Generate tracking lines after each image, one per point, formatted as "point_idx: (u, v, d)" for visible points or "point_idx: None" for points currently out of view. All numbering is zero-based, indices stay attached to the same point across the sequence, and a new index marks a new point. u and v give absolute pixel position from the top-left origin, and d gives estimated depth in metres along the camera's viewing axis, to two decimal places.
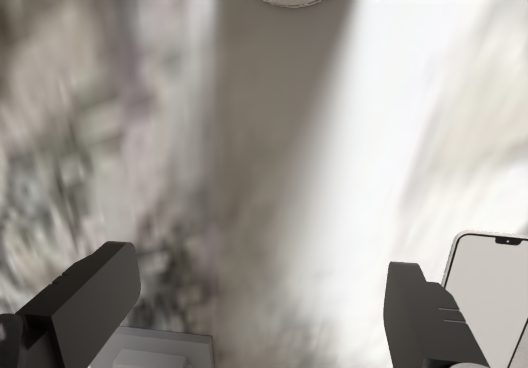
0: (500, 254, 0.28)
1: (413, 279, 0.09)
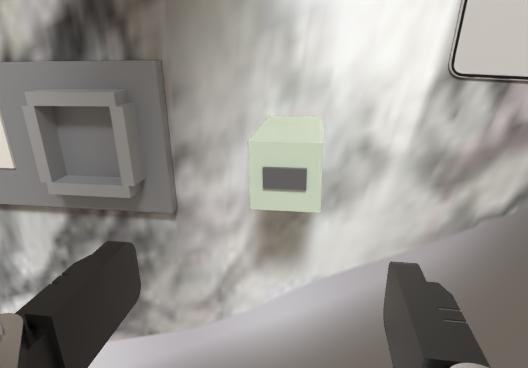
0: None
1: (413, 279, 0.09)
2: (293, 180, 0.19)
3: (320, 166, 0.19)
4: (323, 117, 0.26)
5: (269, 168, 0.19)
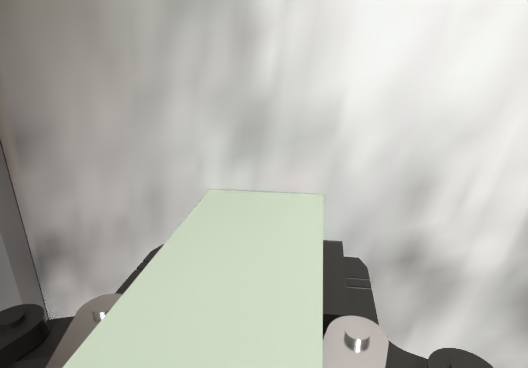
0: None
1: (332, 253, 0.10)
2: None
3: None
4: None
5: None
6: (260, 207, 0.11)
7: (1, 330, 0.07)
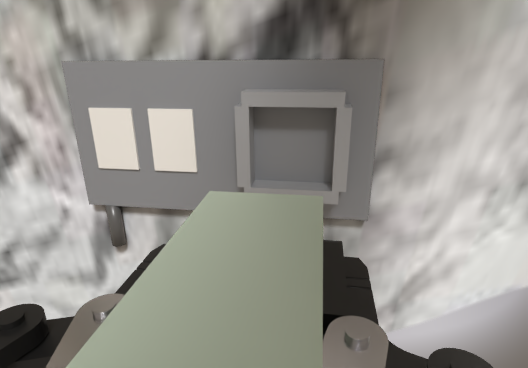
0: None
1: (332, 253, 0.10)
2: None
3: None
4: None
5: None
6: (260, 209, 0.11)
7: (1, 330, 0.07)
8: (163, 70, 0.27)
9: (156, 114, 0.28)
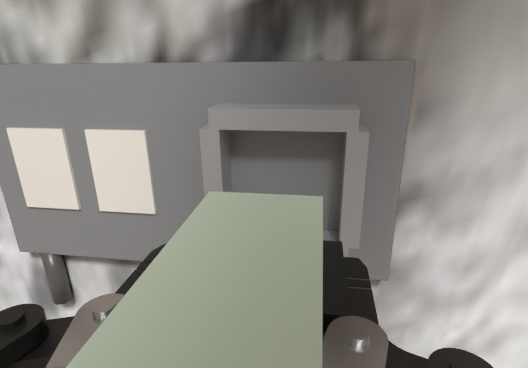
0: None
1: (332, 253, 0.10)
2: None
3: None
4: None
5: None
6: (260, 209, 0.11)
7: (1, 330, 0.07)
8: (102, 77, 0.19)
9: (96, 137, 0.20)
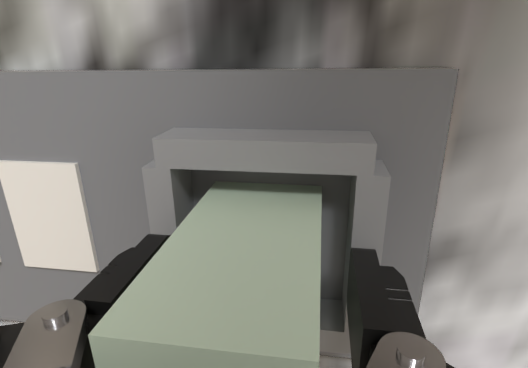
0: None
1: (368, 262, 0.10)
2: None
3: None
4: (321, 191, 0.13)
5: None
6: (263, 197, 0.12)
7: None
8: (14, 90, 0.14)
9: (12, 171, 0.15)
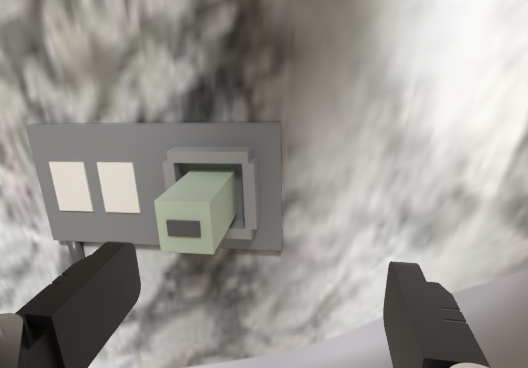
0: None
1: (413, 279, 0.09)
2: (190, 230, 0.25)
3: (209, 219, 0.25)
4: (234, 171, 0.31)
5: (171, 221, 0.25)
6: (210, 173, 0.31)
7: None
8: (107, 132, 0.33)
9: (104, 167, 0.34)
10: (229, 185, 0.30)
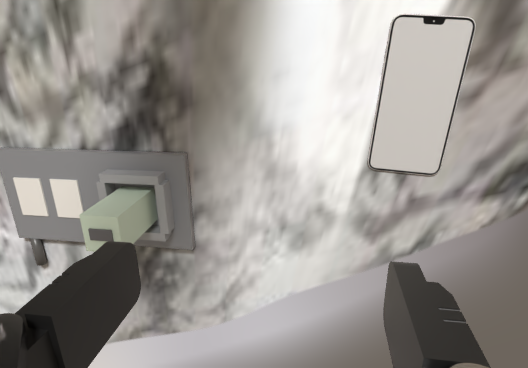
0: (428, 35, 0.33)
1: (413, 279, 0.09)
2: (105, 236, 0.35)
3: (118, 229, 0.35)
4: (151, 189, 0.41)
5: (92, 229, 0.35)
6: (132, 191, 0.41)
7: None
8: (57, 156, 0.42)
9: (55, 182, 0.43)
10: (145, 201, 0.40)
